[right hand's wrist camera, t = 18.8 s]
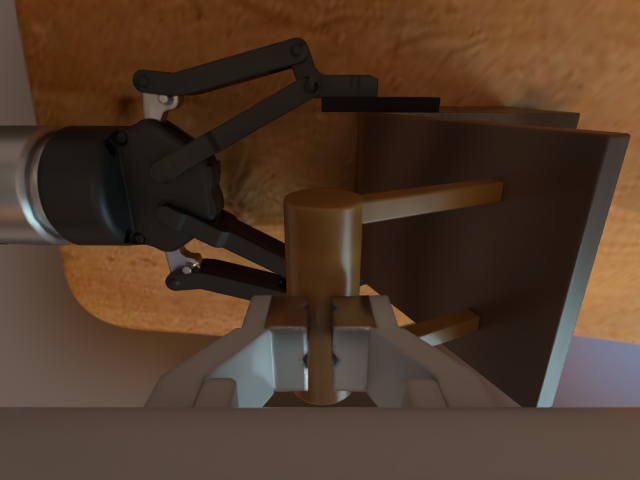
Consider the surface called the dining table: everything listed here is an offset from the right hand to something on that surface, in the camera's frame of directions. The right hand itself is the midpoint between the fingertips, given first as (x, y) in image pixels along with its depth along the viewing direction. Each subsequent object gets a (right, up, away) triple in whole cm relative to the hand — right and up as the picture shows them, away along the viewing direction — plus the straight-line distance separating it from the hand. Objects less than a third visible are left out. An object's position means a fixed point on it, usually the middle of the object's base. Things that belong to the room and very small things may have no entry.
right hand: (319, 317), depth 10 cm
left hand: (+7, +5, +14) cm, 16 cm away
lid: (+6, +2, +6) cm, 9 cm away
